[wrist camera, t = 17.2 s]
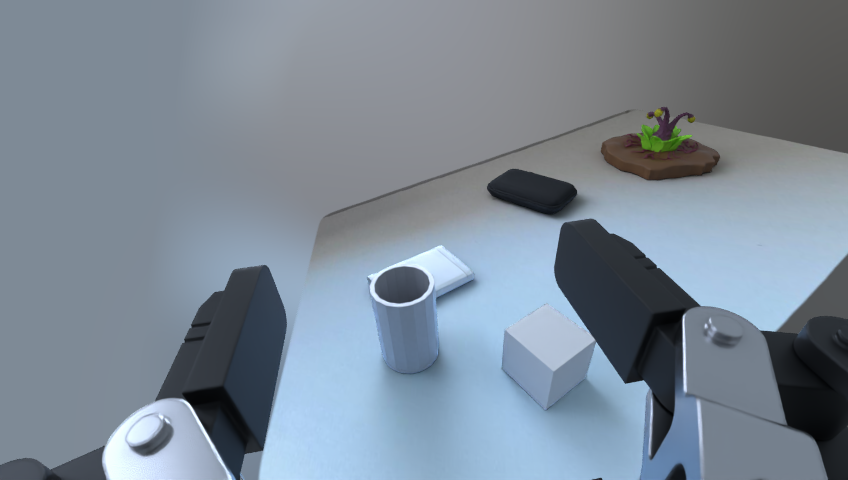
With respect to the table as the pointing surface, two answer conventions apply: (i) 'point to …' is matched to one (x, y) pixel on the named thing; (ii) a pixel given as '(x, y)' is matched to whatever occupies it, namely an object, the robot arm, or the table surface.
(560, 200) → the carrying case
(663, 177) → the plant
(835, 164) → the table surface
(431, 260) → the hard drive
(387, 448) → the table surface
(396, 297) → the pot
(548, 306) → the white cube
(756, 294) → the table surface
